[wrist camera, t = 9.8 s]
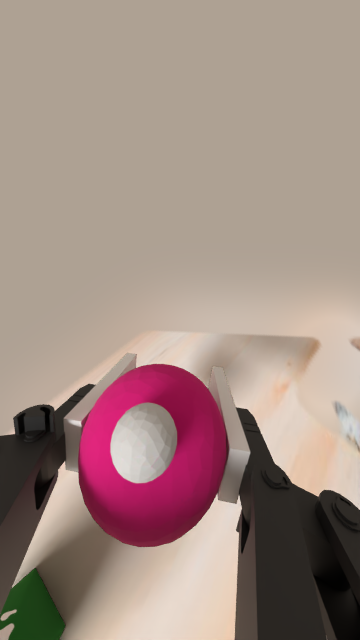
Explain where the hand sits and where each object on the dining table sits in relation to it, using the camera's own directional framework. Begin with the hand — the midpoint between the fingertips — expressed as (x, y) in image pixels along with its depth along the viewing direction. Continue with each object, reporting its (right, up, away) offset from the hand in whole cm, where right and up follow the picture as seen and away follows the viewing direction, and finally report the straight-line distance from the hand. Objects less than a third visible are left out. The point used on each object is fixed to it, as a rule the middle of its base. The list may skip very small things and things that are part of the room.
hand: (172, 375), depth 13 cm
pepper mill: (-1, -9, +8) cm, 12 cm away
